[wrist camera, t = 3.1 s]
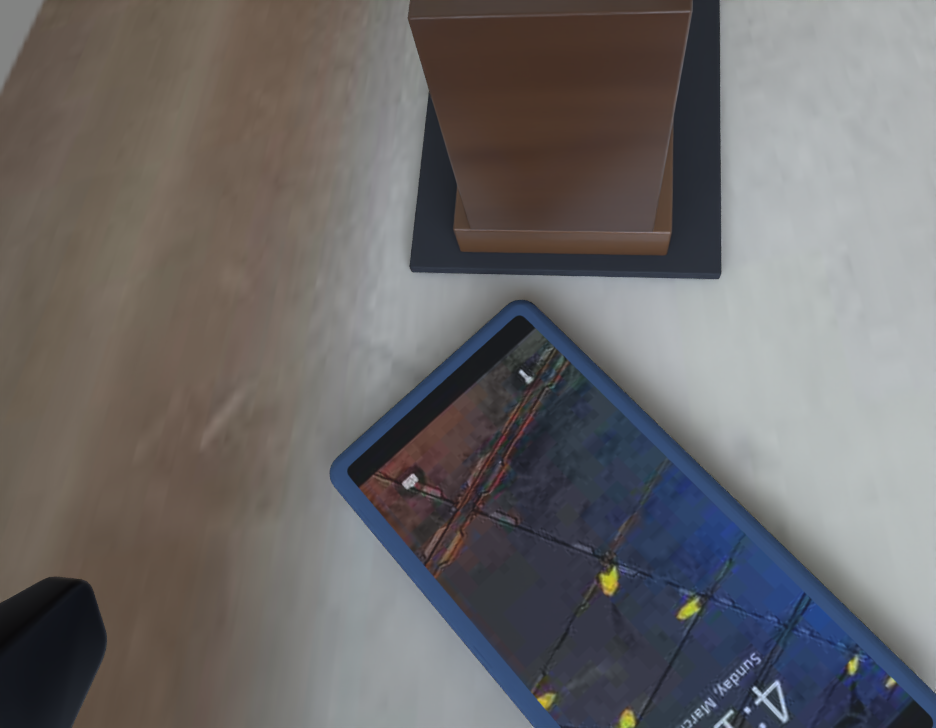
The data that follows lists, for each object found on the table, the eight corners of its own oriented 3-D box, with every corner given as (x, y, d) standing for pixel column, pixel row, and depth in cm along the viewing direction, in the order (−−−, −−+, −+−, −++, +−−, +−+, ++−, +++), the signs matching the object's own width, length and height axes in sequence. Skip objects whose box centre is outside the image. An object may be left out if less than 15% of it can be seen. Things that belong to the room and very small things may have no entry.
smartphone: (520, 287, 23) (972, 725, 18) (522, 298, 24) (957, 720, 19) (316, 470, 22) (733, 974, 18) (325, 475, 23) (728, 959, 18)
